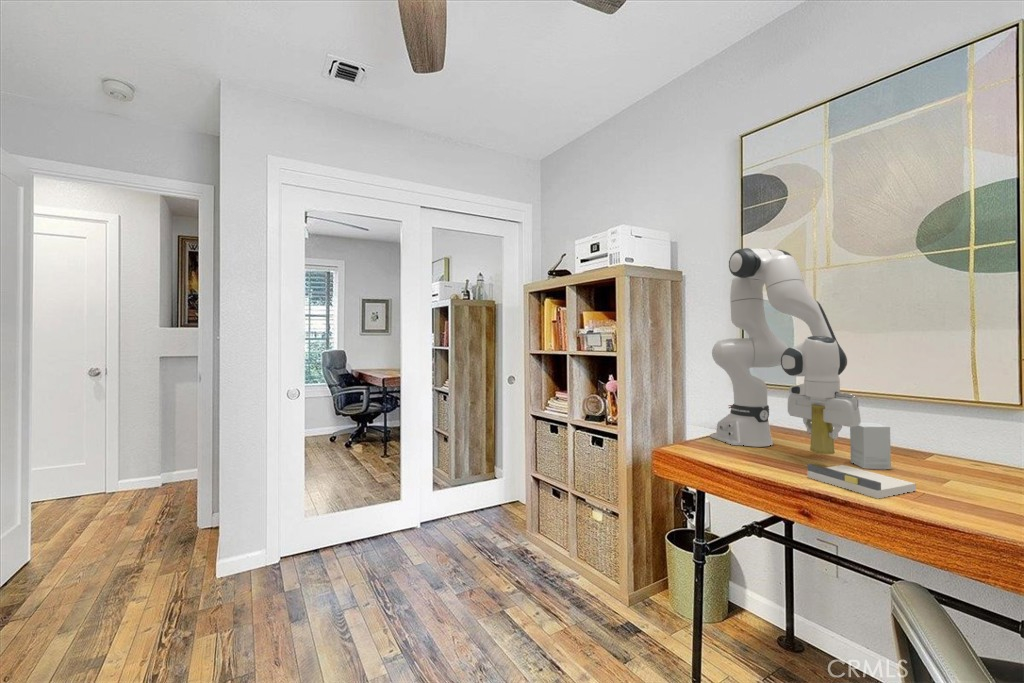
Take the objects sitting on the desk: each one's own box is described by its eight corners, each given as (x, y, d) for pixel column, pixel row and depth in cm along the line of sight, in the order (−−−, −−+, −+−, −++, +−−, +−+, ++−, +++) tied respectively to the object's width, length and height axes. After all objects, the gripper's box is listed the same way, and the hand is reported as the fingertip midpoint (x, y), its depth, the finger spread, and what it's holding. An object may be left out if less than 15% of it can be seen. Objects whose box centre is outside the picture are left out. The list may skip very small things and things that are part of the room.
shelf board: (806, 477, 125) (806, 464, 125) (842, 471, 130) (842, 458, 130) (876, 499, 108) (876, 483, 108) (915, 491, 113) (915, 476, 113)
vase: (835, 455, 130) (835, 407, 130) (810, 453, 134) (809, 405, 133) (833, 450, 136) (833, 404, 135) (809, 448, 139) (809, 402, 139)
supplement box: (892, 470, 131) (891, 426, 130) (863, 469, 132) (862, 426, 132) (876, 463, 138) (876, 422, 138) (849, 462, 139) (849, 421, 139)
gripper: (866, 393, 125) (866, 442, 126) (798, 386, 145) (798, 428, 145) (850, 395, 123) (850, 445, 124) (783, 387, 143) (784, 430, 143)
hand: (822, 436), depth 135 cm, fingers closed on vase, 5 cm apart
